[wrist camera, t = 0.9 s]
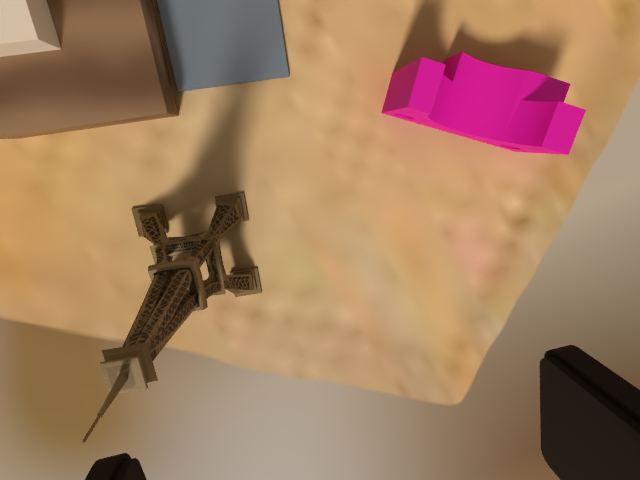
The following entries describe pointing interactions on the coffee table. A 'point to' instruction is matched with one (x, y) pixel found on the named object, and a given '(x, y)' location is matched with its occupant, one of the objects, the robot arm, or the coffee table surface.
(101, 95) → the deck
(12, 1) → the beige rectangular block
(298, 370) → the coffee table surface
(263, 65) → the mat
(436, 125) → the toy block
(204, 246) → the eiffel tower
